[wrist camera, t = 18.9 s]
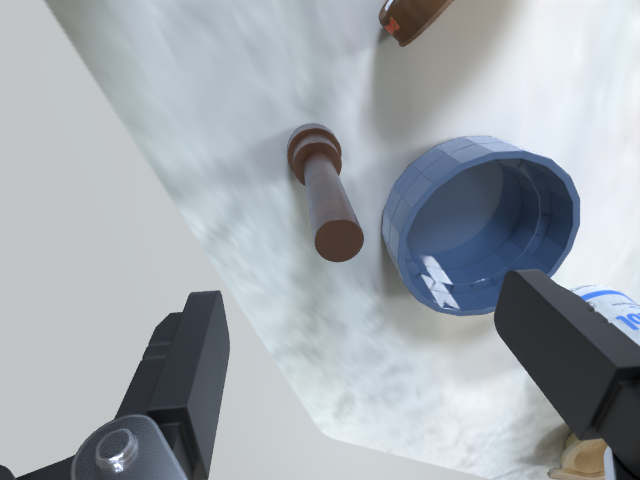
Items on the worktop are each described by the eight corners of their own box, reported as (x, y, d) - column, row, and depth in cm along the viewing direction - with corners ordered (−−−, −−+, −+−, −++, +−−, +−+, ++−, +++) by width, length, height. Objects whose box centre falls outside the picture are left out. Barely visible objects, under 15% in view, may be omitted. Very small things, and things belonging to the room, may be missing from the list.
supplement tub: (633, 280, 41) (795, 386, 28) (600, 343, 45) (728, 460, 32) (553, 282, 40) (682, 392, 27) (528, 346, 44) (628, 468, 31)
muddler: (288, 175, 32) (292, 285, 17) (285, 124, 30) (286, 197, 15) (338, 173, 32) (385, 279, 17) (338, 122, 30) (391, 191, 15)
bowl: (377, 284, 38) (391, 321, 33) (385, 138, 31) (406, 155, 26) (514, 274, 39) (550, 309, 34) (553, 131, 32) (607, 146, 27)
